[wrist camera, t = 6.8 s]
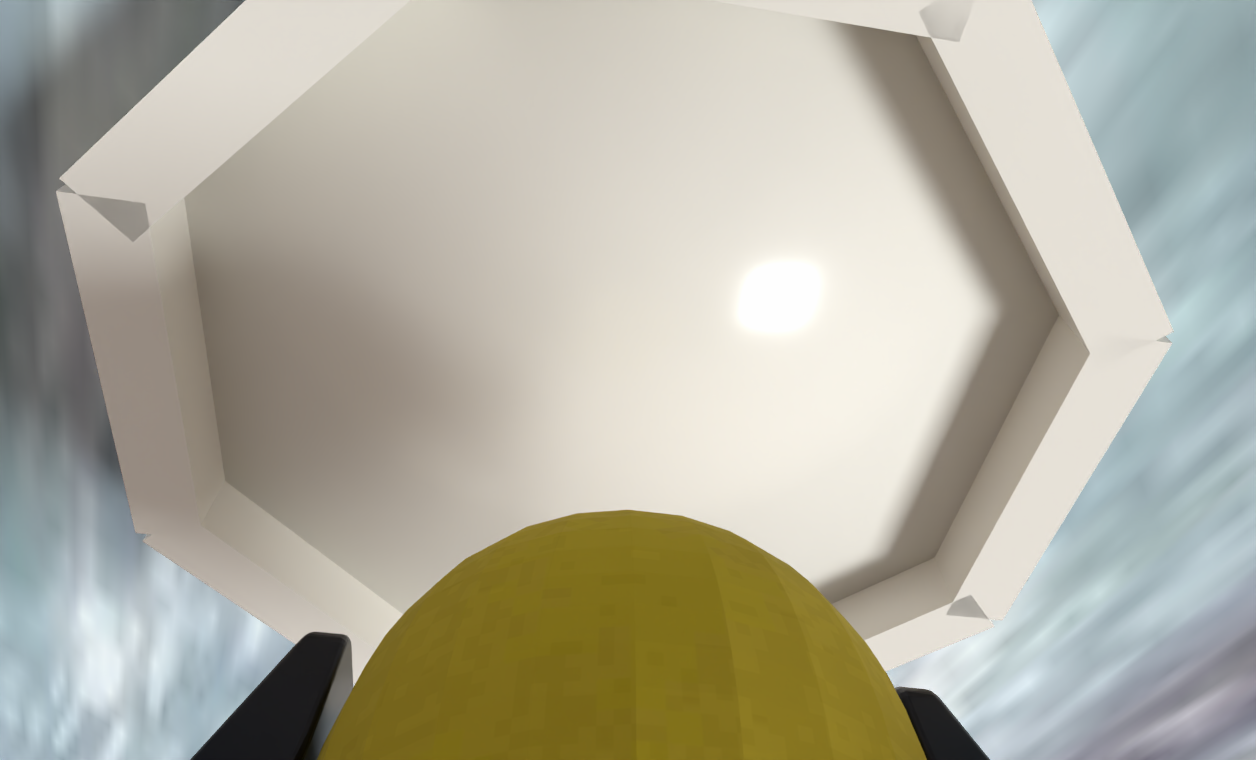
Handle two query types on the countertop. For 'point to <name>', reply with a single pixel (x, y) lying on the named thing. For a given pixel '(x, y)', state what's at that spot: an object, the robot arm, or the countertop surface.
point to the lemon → (623, 656)
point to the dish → (611, 296)
